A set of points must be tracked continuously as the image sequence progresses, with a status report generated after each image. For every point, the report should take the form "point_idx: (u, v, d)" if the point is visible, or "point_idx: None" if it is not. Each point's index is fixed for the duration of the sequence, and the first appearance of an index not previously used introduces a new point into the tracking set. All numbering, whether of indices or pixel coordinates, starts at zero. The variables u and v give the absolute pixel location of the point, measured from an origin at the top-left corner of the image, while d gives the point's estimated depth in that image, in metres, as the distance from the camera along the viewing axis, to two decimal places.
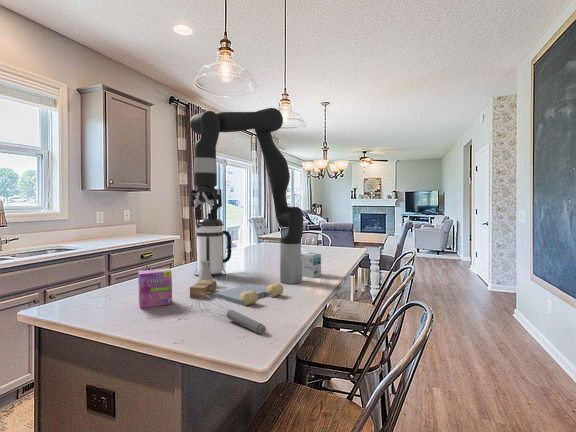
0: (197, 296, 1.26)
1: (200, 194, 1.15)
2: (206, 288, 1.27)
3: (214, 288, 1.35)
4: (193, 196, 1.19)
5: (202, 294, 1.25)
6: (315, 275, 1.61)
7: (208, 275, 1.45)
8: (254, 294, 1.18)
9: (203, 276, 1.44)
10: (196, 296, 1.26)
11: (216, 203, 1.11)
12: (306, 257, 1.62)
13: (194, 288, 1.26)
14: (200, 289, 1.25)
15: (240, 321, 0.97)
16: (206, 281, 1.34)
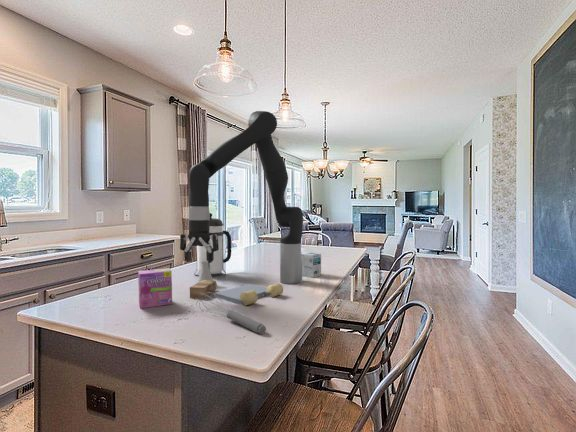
0: (197, 296, 1.26)
1: None
2: (206, 288, 1.27)
3: (214, 288, 1.35)
4: None
5: (202, 294, 1.25)
6: (315, 275, 1.61)
7: (208, 275, 1.45)
8: (254, 294, 1.18)
9: (203, 276, 1.44)
10: (196, 296, 1.26)
11: None
12: (306, 257, 1.62)
13: (194, 288, 1.26)
14: (200, 289, 1.25)
15: (240, 321, 0.97)
16: (206, 281, 1.34)
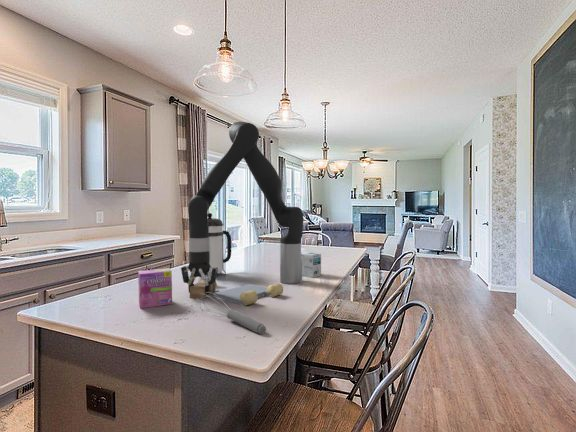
0: (197, 296, 1.26)
1: None
2: None
3: (214, 288, 1.35)
4: None
5: (202, 294, 1.25)
6: (315, 275, 1.61)
7: None
8: (254, 294, 1.18)
9: None
10: (196, 296, 1.26)
11: None
12: (306, 257, 1.62)
13: (194, 288, 1.26)
14: (200, 289, 1.25)
15: (240, 321, 0.97)
16: None
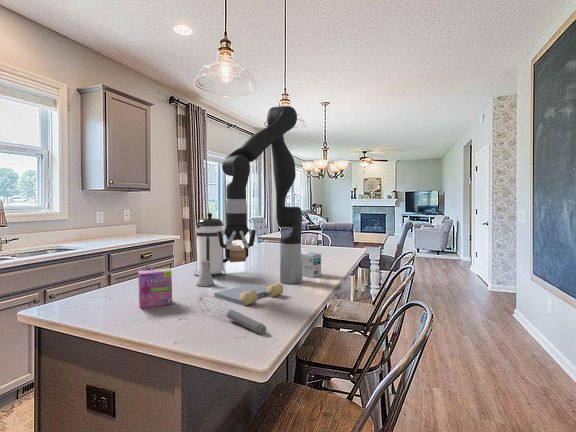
0: (238, 259, 1.21)
1: None
2: None
3: None
4: (250, 235, 1.26)
5: (244, 257, 1.22)
6: (315, 275, 1.61)
7: (208, 275, 1.45)
8: (254, 294, 1.18)
9: (203, 276, 1.44)
10: (237, 259, 1.21)
11: None
12: (306, 257, 1.62)
13: (235, 251, 1.21)
14: (242, 252, 1.21)
15: (240, 321, 0.97)
16: (233, 246, 1.29)
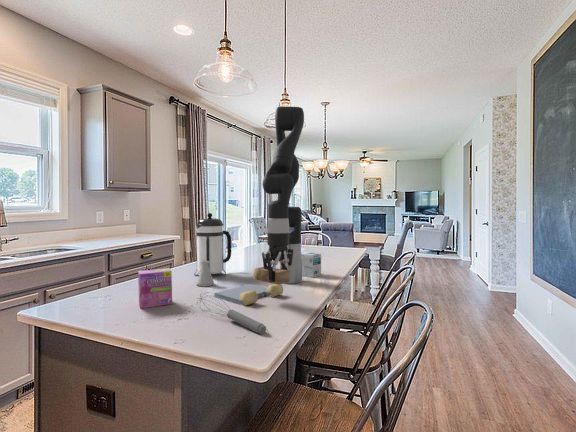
0: (284, 280, 1.17)
1: None
2: None
3: None
4: (286, 254, 1.23)
5: (287, 277, 1.18)
6: (315, 275, 1.61)
7: (208, 275, 1.45)
8: (254, 294, 1.18)
9: (203, 276, 1.44)
10: (283, 281, 1.17)
11: (264, 265, 1.14)
12: (306, 257, 1.62)
13: (281, 273, 1.16)
14: (286, 272, 1.18)
15: (240, 321, 0.97)
16: None
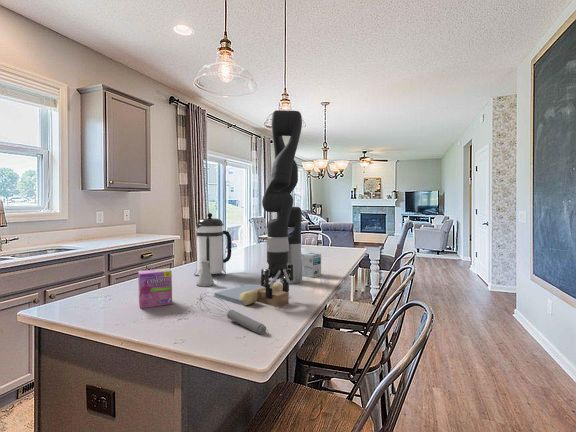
0: (284, 303, 1.18)
1: None
2: None
3: None
4: (286, 270, 1.24)
5: (287, 299, 1.19)
6: (315, 275, 1.61)
7: (208, 275, 1.45)
8: (254, 294, 1.18)
9: (203, 276, 1.44)
10: (283, 303, 1.17)
11: (261, 283, 1.14)
12: (306, 257, 1.62)
13: (281, 295, 1.17)
14: (286, 295, 1.18)
15: (240, 321, 0.97)
16: (264, 289, 1.23)
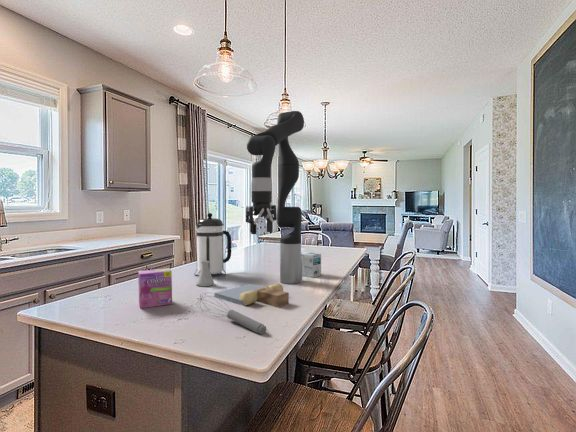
0: (284, 303, 1.18)
1: None
2: None
3: None
4: (270, 211, 1.33)
5: (287, 299, 1.19)
6: (315, 275, 1.61)
7: (208, 275, 1.45)
8: (254, 294, 1.18)
9: (203, 276, 1.44)
10: (283, 303, 1.17)
11: (246, 219, 1.24)
12: (306, 257, 1.62)
13: (281, 295, 1.17)
14: (286, 295, 1.18)
15: (241, 321, 0.97)
16: (264, 289, 1.23)
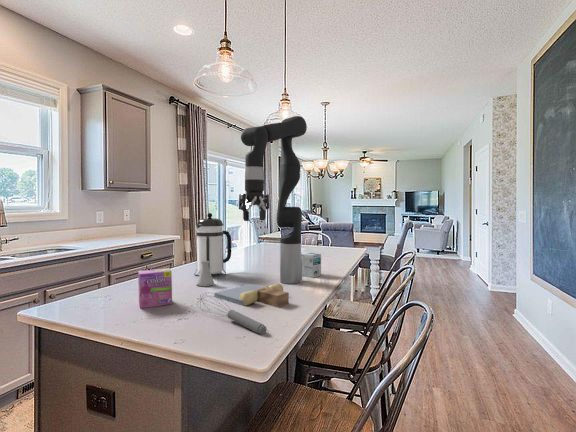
0: (284, 303, 1.18)
1: None
2: None
3: None
4: (263, 200, 1.38)
5: (287, 299, 1.19)
6: (315, 275, 1.61)
7: (208, 275, 1.45)
8: (254, 294, 1.18)
9: (203, 276, 1.44)
10: (283, 303, 1.17)
11: (239, 206, 1.29)
12: (306, 257, 1.62)
13: (281, 295, 1.17)
14: (286, 295, 1.18)
15: (241, 321, 0.97)
16: (264, 289, 1.23)
